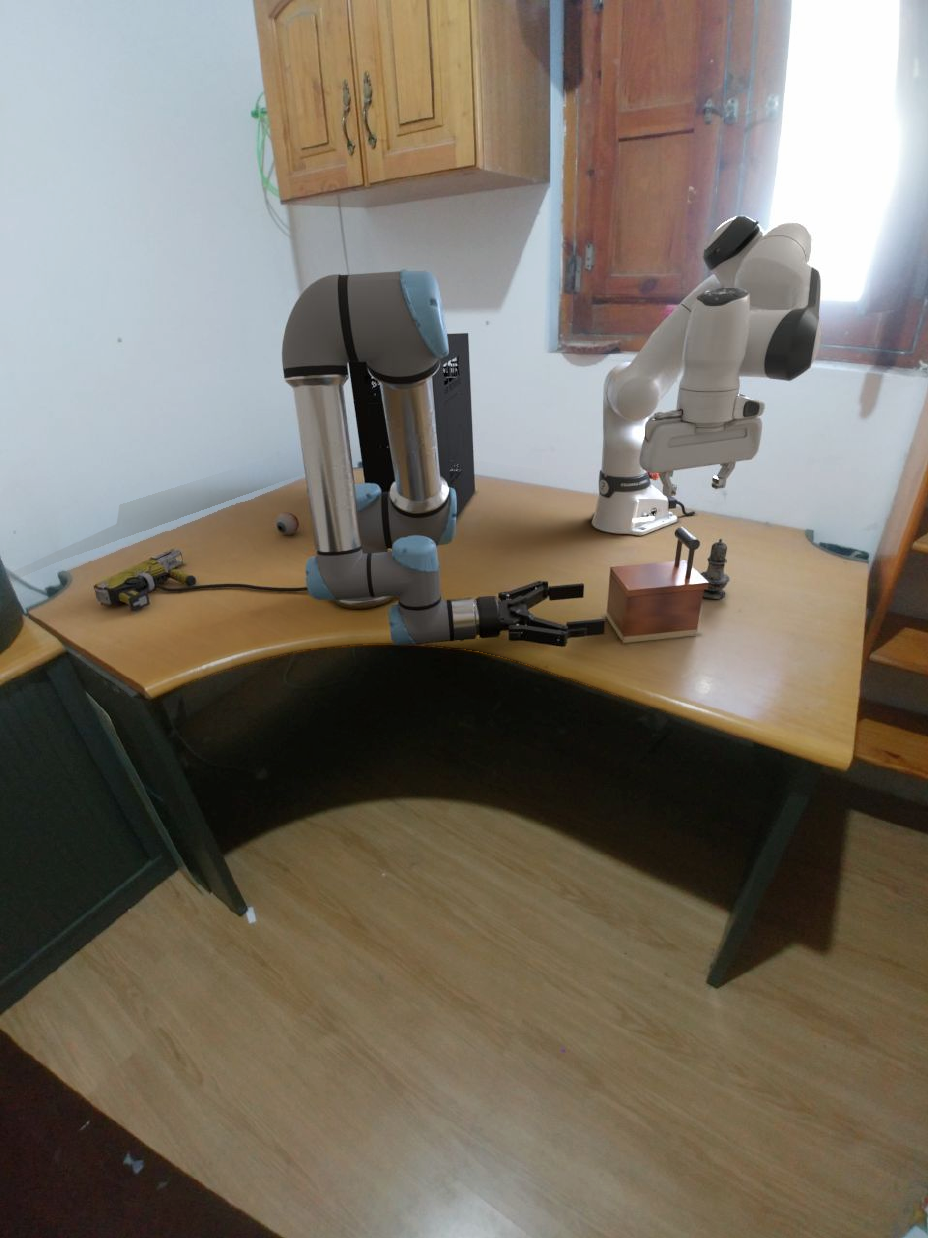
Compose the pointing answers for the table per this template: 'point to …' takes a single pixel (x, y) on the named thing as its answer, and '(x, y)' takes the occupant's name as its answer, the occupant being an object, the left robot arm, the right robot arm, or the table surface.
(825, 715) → the table surface
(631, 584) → the lid
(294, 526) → the eyeball
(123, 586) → the toy gun
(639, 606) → the chest
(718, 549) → the grey chess piece
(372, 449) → the cardboard box
